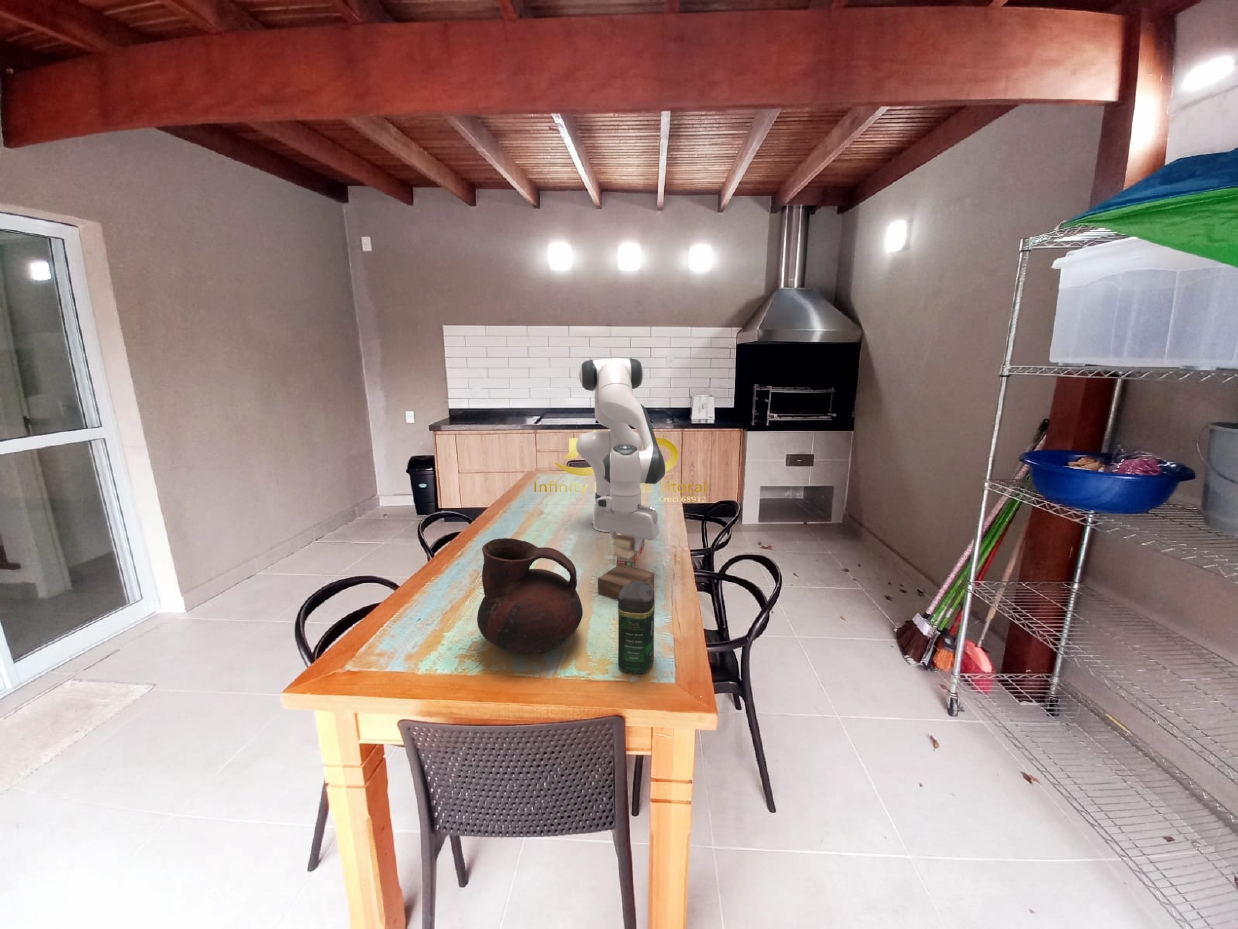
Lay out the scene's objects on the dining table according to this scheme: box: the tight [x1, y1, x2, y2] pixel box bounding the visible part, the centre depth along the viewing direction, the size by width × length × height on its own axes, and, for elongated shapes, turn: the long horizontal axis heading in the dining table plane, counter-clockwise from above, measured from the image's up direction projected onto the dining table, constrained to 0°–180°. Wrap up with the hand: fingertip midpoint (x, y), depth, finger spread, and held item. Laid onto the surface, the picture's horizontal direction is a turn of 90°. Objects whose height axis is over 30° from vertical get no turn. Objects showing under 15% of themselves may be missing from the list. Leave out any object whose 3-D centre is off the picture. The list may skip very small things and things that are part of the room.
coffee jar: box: [617, 581, 656, 675], centre depth 110 cm, size 10×8×19 cm
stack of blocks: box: [616, 533, 645, 568], centre depth 168 cm, size 21×6×12 cm, turn 169°
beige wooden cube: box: [613, 534, 638, 559], centre depth 142 cm, size 5×5×5 cm
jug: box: [476, 537, 584, 655], centre depth 118 cm, size 25×25×25 cm
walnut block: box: [597, 564, 655, 601], centre depth 144 cm, size 12×12×5 cm
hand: (626, 547), depth 142 cm, fingers closed on beige wooden cube, 5 cm apart
